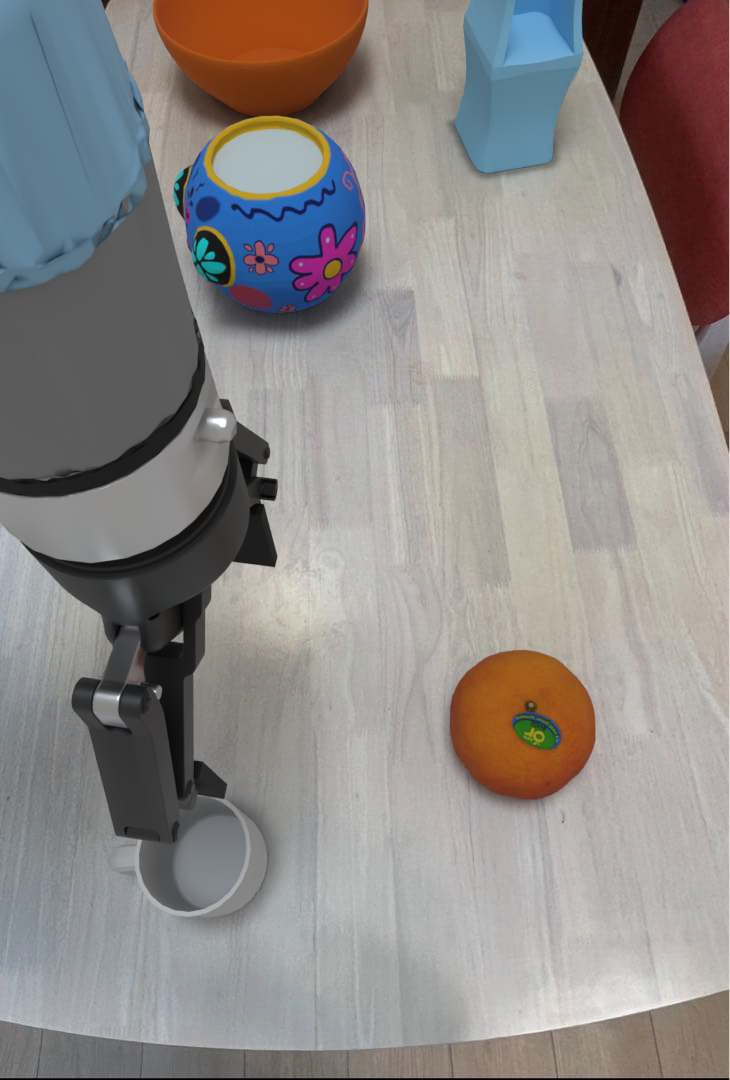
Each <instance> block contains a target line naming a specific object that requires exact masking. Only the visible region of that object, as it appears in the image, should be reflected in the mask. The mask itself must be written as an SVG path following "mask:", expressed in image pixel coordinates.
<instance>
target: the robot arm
mask: <svg viewBox="0 0 730 1080" xmlns="http://www.w3.org/2000/svg"><path fill="white" fill-rule="evenodd" d="M128 67H129V66H128V64H127V60H126V59H125V58H123V56H122V52H121V51H120V47H119V45H118V42H117V39H116V36H115V34H114V31H113V29H112V26H111V22H110V21H109V17H108V16H107V13H106V10H105V6H104V4H103V2H102V0H0V524H1V526H2V527H3V528H4V529H5V530H6V532H8V533H9V534H10V535H11V536H12V537H14V538H15V539H17V540H18V541H19V542H20V543H21V544H22V546H23V547H24V548H25V549H26V550H27V551H28V552H29V554H30V555H31V556H32V557H33V558H34V559H35V560H36V561H37V562H38V563H39V565H41V566H42V568H43V569H44V570H45V571H46V572H47V573H48V574H49V576H51V577H52V578H53V579H54V581H56V582H57V584H58V585H60V587H61V588H63V590H65V591H66V592H67V593H68V594H69V595H71V596H72V597H73V598H74V599H76V600H78V601H79V602H80V603H82V604H84V605H85V606H87V607H88V608H90V609H92V610H93V611H95V612H96V613H98V614H99V615H100V617H101V619H102V623H103V630H104V634H105V637H106V639H107V641H108V642H109V643H110V644H111V645H112V646H111V647H112V649H111V652H110V655H109V657H108V661H107V664H106V666H105V669H104V671H103V674H102V676H99V675H97V676H96V677H95V678H92V677H86V676H83V677H80V678H79V679H78V680H77V681H76V683H75V685H74V687H73V690H72V694H71V700H70V701H71V702H70V703H71V708H72V711H73V712H74V713H75V714H76V715H77V716H78V718H79V719H80V720H81V721H82V722H83V723H84V725H85V726H86V727H87V729H88V733H89V736H90V741H91V744H92V748H93V752H94V756H95V761H96V764H97V768H98V772H99V776H100V780H101V784H102V787H103V792H104V796H105V800H106V803H107V807H108V812H109V816H110V819H111V823H112V827H113V831H114V834H115V836H116V837H121V838H128V839H133V840H137V841H138V840H144V841H151V842H157V843H164V844H170V845H173V844H174V843H175V842H176V841H177V839H178V836H179V834H180V831H181V824H180V822H181V819H180V811H179V809H184V810H190V811H192V810H193V809H194V808H195V804H196V800H197V796H198V795H201V796H207V797H214V798H220V799H224V798H225V797H226V793H227V787H228V784H227V782H226V781H224V779H222V778H221V777H220V776H219V775H218V774H217V773H216V772H215V771H214V770H212V769H211V768H210V766H209V765H207V764H206V763H205V762H204V761H202V760H195V755H194V754H195V753H194V752H195V751H194V749H195V746H194V745H195V744H194V743H195V742H194V741H195V739H194V737H195V736H194V735H195V734H194V732H195V731H194V722H195V721H194V719H195V717H194V715H195V714H194V674H195V671H196V670H197V668H198V667H199V665H200V663H201V662H202V660H203V659H204V657H205V654H206V609H207V608H208V606H209V605H210V603H211V601H212V585H213V583H215V582H216V581H217V580H218V579H220V577H221V576H222V575H223V574H224V573H225V572H226V571H227V569H229V567H230V566H231V564H232V563H238V564H244V565H245V564H246V565H253V566H262V567H269V568H276V565H277V561H278V553H277V549H276V544H275V541H274V537H273V534H272V529H271V525H270V522H269V519H268V515H267V511H266V507H265V503H262V500H263V501H271V502H275V501H276V499H277V497H278V489H279V480H278V478H272V477H264V476H263V477H262V476H258V468H259V465H267V464H268V462H269V459H270V457H271V447H270V444H269V442H268V441H267V440H265V439H264V438H263V437H261V436H260V435H258V434H256V433H255V432H254V431H252V430H251V429H249V428H247V426H245V425H244V424H242V423H240V421H238V420H237V417H236V415H235V413H234V409H233V407H232V404H231V402H230V399H228V398H220V397H219V393H218V390H217V386H216V383H215V380H214V376H213V373H212V369H211V366H210V363H209V360H208V357H207V354H206V352H205V344H204V340H203V337H202V334H201V330H200V326H199V323H198V321H197V318H196V317H195V315H194V312H193V311H194V310H193V308H192V305H191V301H190V298H189V293H188V290H187V286H186V283H185V279H184V277H183V273H182V269H181V267H180V266H181V265H180V262H179V257H178V255H177V250H176V247H175V243H174V239H173V235H172V230H171V226H170V222H169V219H168V213H167V210H166V206H165V202H164V198H163V197H164V196H163V194H162V189H161V185H160V181H159V178H158V173H157V169H156V166H155V162H154V157H153V152H152V148H151V145H150V135H151V126H150V124H149V121H148V117H147V115H146V112H145V108H144V107H145V106H144V102H143V96H142V94H141V91H140V88H139V85H138V83H137V80H136V78H135V76H134V74H133V73H132V72H130V71H129V68H128ZM181 633H182V642H180V641H179V642H178V641H173V640H174V639H175V638H177V637H178V636H179V635H180V634H181ZM225 799H226V798H225Z"/></svg>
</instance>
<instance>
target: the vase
mask: <svg viewBox="0 0 730 1080" xmlns="http://www.w3.org/2000/svg"><path fill="white" fill-rule="evenodd" d="M583 1H584V0H470V2H469V3H468V6H467V8H466V10H465V13H464V15H463V24H462V29H463V36H464V37H463V38H464V39H463V40H464V50H465V51H464V52H465V82H464V88H463V94H462V97H461V102H460V105H459V107H458V111H457V114H456V115H455V119H454V121H453V125H454V127H455V129H456V131H457V133H458V136H459V138H460V140H461V142H462V144H463V147H464V149H465V152H466V153H467V155H468V157H469V160H470V161H471V163H472V165H473V166H474V168H475V169H476V170H477V171H479V172H482V173H484V174H493V173H494V174H495V173H499V172H505V171H511V170H516V169H521V168H522V169H523V168H529V167H534V166H540V165H545V164H548V163H550V162H551V161H552V159H553V156H554V139H555V131H556V130H555V129H556V124H557V119H558V116H559V113H560V110H561V107H562V104H563V102H564V100H565V97H566V95H567V92H568V90H569V89H570V87H571V85H572V83H573V81H574V79H575V77H576V76H577V74H578V71H579V70H580V68H581V66H582V61H583V59H584V41H583V23H582V22H583V20H582V19H583Z"/></svg>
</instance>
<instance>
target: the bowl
mask: <svg viewBox="0 0 730 1080" xmlns="http://www.w3.org/2000/svg"><path fill="white" fill-rule="evenodd" d="M368 13H369V0H153V2H152V17H153V21H154V24H155V28H156V30H157V33H158V35H159V38H160V39H161V41H162V44H163V46H164V47H165V49H166V51H167V52H168V53H169V55H170V57H171V58H172V59H173V61H174V62H175V63H176V64H177V66H178V67H179V69H181V70H182V71H183V73H184V74H186V75H187V76H188V78H190V80H191V81H192V82H194V83H195V84H196V85H197V86H199V88H201V89H202V90H203V91H205V92H206V93H208V94H209V95H211V96H212V97H213V98H215V99H217V100H219V101H220V102H222V103H223V104H225V105H226V106H227V107H229V108H230V109H232V110H234V111H236V112H238V113H240V114H242V115H243V114H244V115H247V116H250V117H260V116H283V117H285V116H288V115H291V114H295V113H298V112H300V111H302V110H304V109H306V108H309V106H311V105H312V104H313V103H315V102H316V101H317V100H318V99H319V98H320V96H322V94H323V93H324V92H325V91H326V90H327V89H328V88H329V87H330V86H331V85H332V84H333V83H334V82H335V81H337V79H338V78H339V76H340V75H341V74H342V73H343V71H345V69H346V67H347V66H348V65H349V62H350V61H351V59H352V58H353V56H354V55H355V52H356V51H357V49H358V47H359V45H360V42H361V39H362V36H363V34H364V31H365V27H366V23H367V19H368Z"/></svg>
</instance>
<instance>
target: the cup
mask: <svg viewBox="0 0 730 1080" xmlns="http://www.w3.org/2000/svg"><path fill="white" fill-rule="evenodd" d="M179 811H180V819H181V822H180V824H181V831H180V834H179V836H178V839H177V841H176V842H175V843H174V844H173V845H170V844H164V843H157V842H151V841H144V840H138V839H137V841H136V842H131V843H125V844H121V845H119V846H117V847H114V848H113V849H111V851H110V853H109V856H108V857H107V862H108V866H109V868H110V870H111V871H113V872H116V873H117V874H120V875H125V876H136V879H137V882H138V886H139V887H140V889H141V891H142V892H143V894H144V895H145V897H146V899H147V900H148V901H149V902H151V903H152V904H153V905H154V906H155V907H156V908H157V909H159V910H160V911H162V912H165V913H167V914H170V915H172V916H176V917H187V918H218V917H224V916H228V915H230V914H232V913H235V912H237V911H238V910H241V909H242V908H243V907H245V906H246V905H247V904H248V903H249V902H250V901H251V900H253V899H254V897H255V896H256V894H257V893H258V891H259V890H260V888H261V887H262V884H263V882H264V879H265V876H266V874H267V866H268V850H267V844H266V841H265V839H264V836H263V834H262V832H261V830H260V829H259V827H258V826H257V825H256V823H255V822H254V821H253V820H252V819H251V818H250V817H248V816H247V815H246V814H244V813H243V811H241V810H240V809H239V808H238V807H236V806H235V805H234V804H232V803H231V802H230V801H228V800H227V799H226V798H224V799H220V798H214V797H207V796H201V795H198V796H197V800H196V804H195V808H194V809H193V810H192V811H190V810H184V809H179Z"/></svg>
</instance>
